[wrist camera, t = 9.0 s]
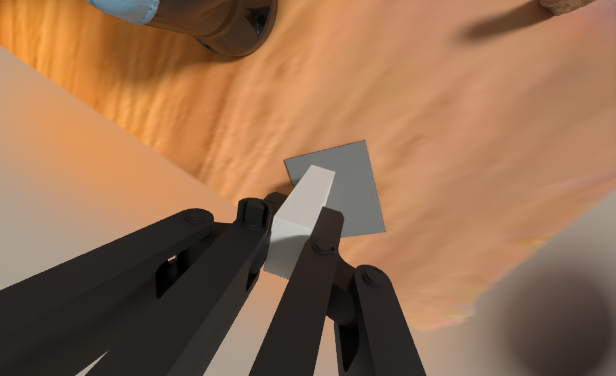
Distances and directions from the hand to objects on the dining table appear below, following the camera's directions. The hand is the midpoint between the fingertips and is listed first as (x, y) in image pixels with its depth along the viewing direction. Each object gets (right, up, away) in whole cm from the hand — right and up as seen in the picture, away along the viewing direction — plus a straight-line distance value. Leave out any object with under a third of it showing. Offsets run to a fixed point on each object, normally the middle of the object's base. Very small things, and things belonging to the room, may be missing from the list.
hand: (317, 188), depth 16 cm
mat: (+5, -1, +33) cm, 34 cm away
